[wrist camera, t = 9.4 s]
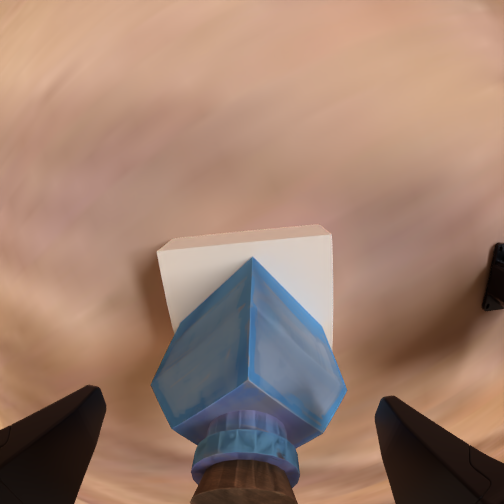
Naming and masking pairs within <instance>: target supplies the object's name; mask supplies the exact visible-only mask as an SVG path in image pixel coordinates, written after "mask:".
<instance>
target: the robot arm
mask: <svg viewBox="0 0 504 504" xmlns="http://www.w3.org/2000/svg"><path fill="white" fill-rule="evenodd" d="M499 248H500V249H499ZM482 309H483V310H485V311H491V310H498V309H504V243H497V244H496V246H495V251H494V257H493V262H492V267H491V272H490V276H489V281H488V285H487V289H486V293H485V297H484V301H483V304H482ZM105 413H106V403H105V400H104V398H103V395H102V392H101V389H100V388H99V387H97V386H93V385H87V386H85V387H83V388H81V389H79V390H77V391H75V392H74V393H72V394H70V395H68V396H66V397H64V398H62V399H60V400H59V401H57V402H55V403H53V404H51V405H49V406H47V407H45V408H43V409H41V410H39V411H37V412H36V413H34V414H32V415H30V416H28V417H26V418H24V419H22V420H20V421H18V422H16V423H14V424H12V425H10V426H8V427H6V428H4V429H1V430H0V504H74V503H75V500H76V497H77V494H78V492H79V489H80V486H81V483H82V481H83V478H84V475H85V473H86V470H87V468H88V465H89V463H90V460H91V457H92V455H93V452H94V450H95V447H96V444H97V441H98V437H99V434H100V430H101V427H102V423H103V420H104V416H105ZM375 424H376V429H377V434H378V440H379V445H380V450H381V455H382V460H383V463H384V466H385V470H386V473H387V476H388V479H389V483H390V486H391V490H392V493H393V496H394V500H395V503H396V504H504V463H502V462H500V461H498V460H496V459H493V458H491V457H489V456H488V455H486V454H484V453H482V452H481V451H479V450H477V449H476V448H474V447H472V446H471V445H470V446H469V444H467V443H466V442H464V441H463V440H461V439H459V438H458V437H456V436H455V435H453V434H452V433H450V432H448V431H447V430H445V429H444V428H442V427H441V426H439V425H438V424H436V423H435V422H433V421H431V420H430V419H428V418H427V417H425V416H424V415H422V414H421V413H419V412H418V411H416V410H415V409H413V408H412V407H410V406H409V405H407V404H406V403H404V402H403V401H401V400H400V399H398V398H397V397H395V396H387V397H383V398H382V399H381V400H380V403H379V406H378V408H377V411H376V414H375Z"/></svg>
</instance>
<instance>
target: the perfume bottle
mask: <svg viewBox="0 0 504 504" xmlns="http://www.w3.org/2000/svg"><path fill="white" fill-rule="evenodd" d="M151 387H152V389H153V391H154V393H155V396H156V398H157V400H158V402H159V404H160V406H161V408H162V410H163V412H164V415H165V417H166V419H167V421H168V423H169V425H170V427H171V428H172V429H173V430H174V431H176V432H177V433H179V434H180V435H182V436H183V437H185V438H187V439H188V440H190V441H191V442H193V443H195V444H196V445H198V446H197V448H196V451H195V455H194V460H193V465H192V470H191V473H192V477H193V480H194V481H195V482H196V483H197V484H198V487H197V489H196V491H195V493H194V495H193V497H192V499H191V501H190V503H191V504H298V503H297V500H296V498H295V495H294V493H293V490H292V488H293V487H294V486H295V485H296V484H297V483H298V480H299V477H300V471H299V463H298V455H297V452H296V448H298V447H300V446H301V445H303V444H305V443H307V442H309V441H310V440H312V439H314V438H316V437H317V436H319V435H321V434H323V432H324V431H325V429H326V427H327V426H328V424H329V422H330V421H331V419H332V417H333V415H334V414H335V412H336V410H337V408H338V407H339V405H340V403H341V401H342V399H343V397H344V396H345V394H346V392H347V388H346V386H345V383H344V380H343V378H342V375H341V373H340V370H339V368H338V365H337V362H336V360H335V357H334V355H333V352H332V350H331V347H330V345H329V342H328V340H327V337H326V335H325V332H324V330H323V327H322V326H321V325H320V324H319V323H318V322H317V321H316V320H315V319H314V318H313V317H312V316H311V315H310V314H309V313H308V312H307V311H306V310H305V309H304V308H303V307H302V306H301V305H300V304H299V303H298V302H297V301H296V299H295V298H294V297H293V296H292V295H291V294H290V293H289V292H288V291H287V290H286V289H285V288H284V287H283V286H282V285H281V284H280V283H279V282H278V281H277V280H276V279H275V278H274V277H273V276H272V275H271V274H270V273H269V272H268V271H267V270H266V269H265V268H264V267H263V266H262V265H261V264H260V263H259V262H258V261H257V260H256V259H255V258H254V257H251V258H250V259H249V260H248V261H247V262H246V263H245V264H244V265H243V266H242V267H241V268H239V269H238V270H237V271H236V272H235V273H234V274H233V275H232V276H231V277H230V278H229V279H227V280H226V281H225V282H224V283H223V284H222V285H221V286H220V287H219V288H218V289H217V290H215V291H214V292H213V293H212V294H211V295H210V296H209V297H208V298H207V299H206V300H205V301H203V302H202V303H201V304H200V305H199V306H198V307H197V308H196V309H195V310H194V311H193V312H191V313H190V314H189V315H188V316H187V317H186V318H185V319H184V320H183V321H182V322H180V324H179V327H178V329H177V331H176V333H175V335H174V337H173V339H172V341H171V343H170V345H169V347H168V349H167V351H166V353H165V356H164V358H163V360H162V362H161V364H160V366H159V368H158V370H157V372H156V375H155V377H154V379H153V381H152V383H151Z"/></svg>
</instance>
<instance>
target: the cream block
mask: <svg viewBox="0 0 504 504" xmlns="http://www.w3.org/2000/svg"><path fill="white" fill-rule="evenodd" d="M157 256H158V261H159V267H160V272H161V277H162V282H163V287H164V292H165V296H166V301H167V306H168V310H169V314H170V319H171V323H172V327H173V331H174V335H175V333H176V331H177V329H178V327H179V324H180V322H182V321H183V320H184V319H185V318H186V317H187V316H188V315H189V314H190V313H191V312H193V311H194V310H195V309H196V308H197V307H198V306H199V305H200V304H201V303H202V302H203V301H205V300H206V299H207V298H208V297H209V296H210V295H211V294H212V293H213V292H214V291H215V290H217V289H218V288H219V287H220V286H221V285H222V284H223V283H224V282H225V281H226V280H227V279H229V278H230V277H231V276H232V275H233V274H234V273H235V272H236V271H237V270H238V269H239V268H241V267H242V266H243V265H244V264H245V263H246V262H247V261H248V260H249V259H250V258H251V257H254V258H255V259H256V260H257V261H258V262H259V263H260V264H261V265H262V266H263V267H264V268H265V269H266V270H267V271H268V272H269V273H270V274H271V275H272V276H273V277H274V278H275V279H276V280H277V281H278V282H279V283H280V284H281V285H282V286H283V287H284V288H285V289H286V290H287V291H288V292H289V293H290V294H291V295H292V296H293V297H294V298H295V299H296V301H297V302H298V303H299V304H300V305H301V306H302V307H303V308H304V309H305V310H306V311H307V312H308V313H309V314H310V315H311V316H312V317H313V318H314V319H315V320H316V321H317V322H318V323H319V324H320V325H321V326H322V327H323V330H324V332H325V335H326V337H327V340H328V342H329V345H330V347H331V350H332V341H333V253H332V234H331V233H329V232H328V231H327V230H326V229H325V228H323V227H322V226H321V225H320V224H316V225H304V226H293V227H282V228H271V229H260V230H250V231H240V232H230V233H220V234H210V235H201V236H192V237H183V238H174V239H171V240H170V241H169V242H168V243H166V244H165V245H164V246H163V247H162V248H160V249H159V250H158V251H157Z"/></svg>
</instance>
